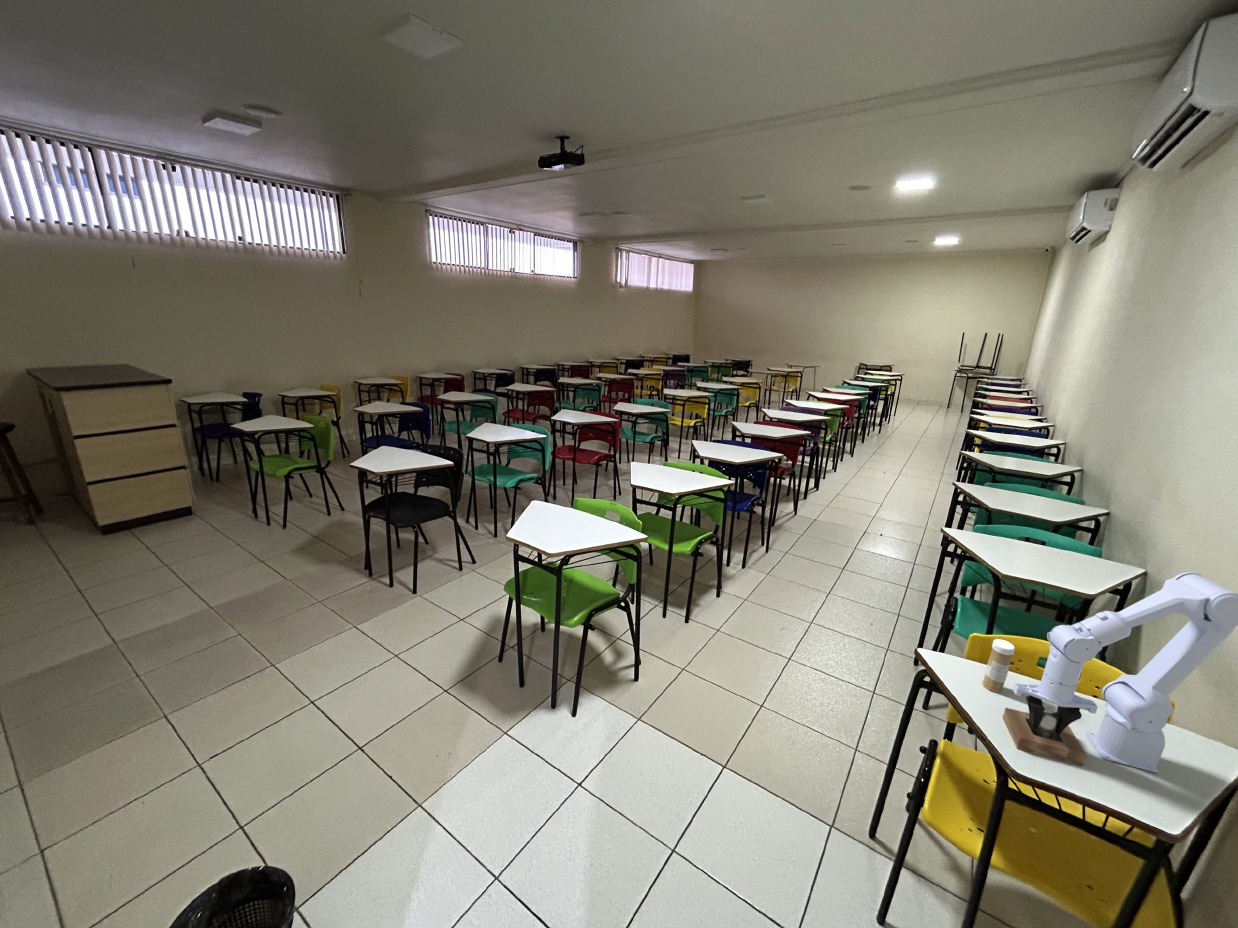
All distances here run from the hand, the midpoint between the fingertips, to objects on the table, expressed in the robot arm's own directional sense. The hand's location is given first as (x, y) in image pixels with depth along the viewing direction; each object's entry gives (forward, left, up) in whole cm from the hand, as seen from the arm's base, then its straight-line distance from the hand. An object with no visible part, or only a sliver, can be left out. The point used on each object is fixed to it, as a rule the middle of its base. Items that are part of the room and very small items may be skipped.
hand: (1044, 727), depth 114 cm
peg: (0, 0, -2) cm, 2 cm away
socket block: (0, 0, -4) cm, 4 cm away
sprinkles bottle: (+5, -17, -4) cm, 18 cm away
